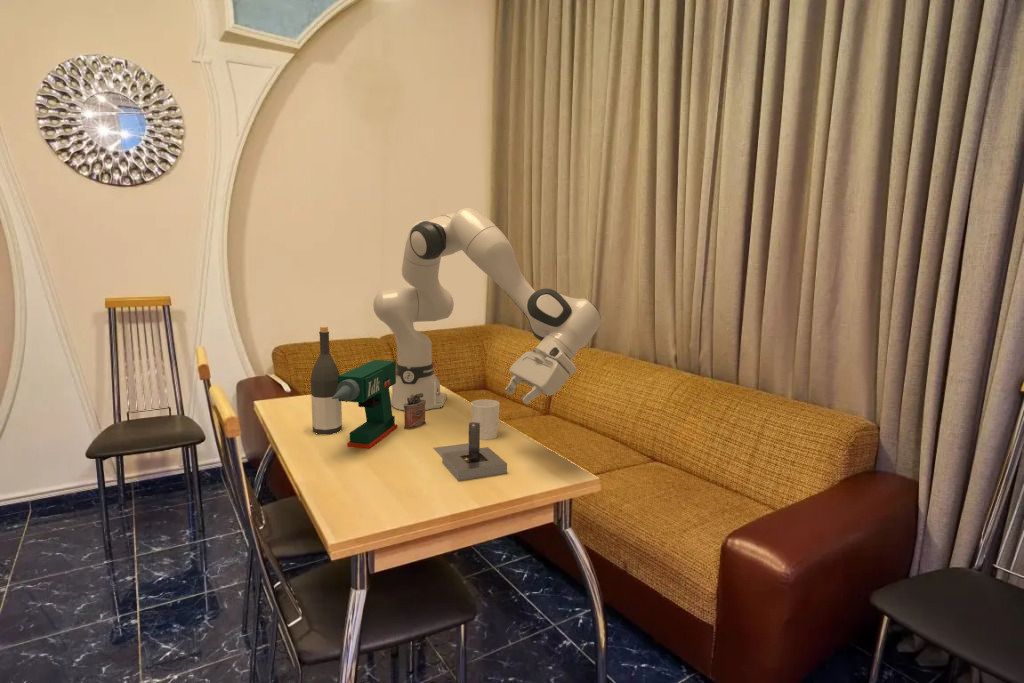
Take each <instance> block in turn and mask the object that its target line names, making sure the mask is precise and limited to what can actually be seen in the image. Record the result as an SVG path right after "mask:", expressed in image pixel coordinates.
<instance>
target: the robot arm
mask: <svg viewBox="0 0 1024 683" xmlns="http://www.w3.org/2000/svg"><path fill="white" fill-rule="evenodd" d="M460 251H462V252H463V253H465V255H466V256H467V257H468V259H469V260H470V261H472V262H473V263H474V264H475V265H476V267H477V268H479V269H480V270H481V271H482V272H483V273H484V274H486V275H487V276H488V277H489V278H490V279H491V280H492V281H493V282H494V283H496V284H497V286H499V287H500V288H501V289H502V290H503V291H504V292H505V294H507V296H508V297H509V298H510V299H511V300H512V301H513V302H514V304H515V305H516V306H517V307H518V308H519V309H520V311H521V312H522V313H523V314H524V315H525V317H526V319H527V320H528V324H529V328H530V331H531V332H532V334H533V337H534V338H536V339H537V340H539V341H540V342H539V343H538V344H537V345H536V346H535V347H534V349H533V350H529V351H526V352H524V353H523V354H522V355H521V356H520V357H518V359H516V360H515V362H514V363H512V365H511V366H510V368H509V370H508V372H509V373H510V374H511V375H512V377H511V378H510V380H509V383H508V385H507V386H506V387H505V389H504V392H506V393H507V394H509V395H511V396H512V395H513V394H514V393H516V391H517V390H516V388H517V386H518V385H520V384H521V383H523V384H526V385H528V386H529V387H531V390H529V392H528V393H524V394H523V395H522V396H521V398H520V400H521V402H523V404H525V405H530V403H531V402H532V401H533V400H535V399H537V398H538V397H540V396H541V395H542V394H545V395H547V396H549V397H550V396H552V395H555V394H556V393H557V392H558V391H560V389H561V388H562V387H563V386H564V384H566V383H567V381H568V380H569V378H570V376H573V375H574V374H575V373H576V372H577V371H578V370H577V366H576V365H575V363H574V362H573V360H574V359H575V357H576V355H577V353H578V351H579V350H580V349H582V348H583V347H584V346H586V345H587V344H588V343H589V341H590V340H591V339H592V338H593V337H594V335H595V334H596V332H597V331H598V330H599V327H600V326H601V323H602V320H601V319H602V318H601V314H600V312H599V310H598V308H597V307H596V306H595V305H594V304H593V302H591V301H590V300H588V299H587V298H575V297H571V296H567V295H564V294H562V293H560V292H558V291H557V290H554V289H553V288H547V287H546V288H540V289H538V290H535V289H534V288H533V287H532V286H531V284H530V283H529V282H528V281H527V279H526V278H525V277H524V275H523V273H522V271H521V268H520V267H519V263H518V260H517V257H516V254H515V250H514V248H513V246H512V244H511V243H510V242H509V239H508V238H507V236H505V234H504V233H503V231H501V229H499V227H498V226H497V225H496V224H494V222H492V220H490V219H489V218H488V217H486V215H484V214H482V213H481V212H480V211H478V210H476V209H475V208H473V207H463V208H462V209H459V210H458V211H456V212H450V213H445V214H441V215H439V216H436V217H434V218H431V219H428V220H425V219H424V220H418V221H416V222H414V223H413V224H412V226H411V228H410V230H409V232H408V236H407V239H406V241H405V246H404V253H403V256H402V257H403V259H402V263H401V264H402V267H401V275H402V278H403V279H404V281H405V282H406V283H407V284H408V285H409V286H412V287H392V288H388V289H383V290H380V291H378V293H377V294H376V295H375V297H374V300H373V311H374V314H375V315H376V317H377V318H378V319H379V320H380V321H381V322H383V323H384V324H385V325H386V326H387V327H388V328H389V329H390V331H391V332H392V333H393V336H394V338H395V343H396V351H397V352H396V353H397V363H396V384H394V385H392V386H391V387H392V388H391V398H390V400H391V407H393V408H394V409H397V410H400V411H405V410H404V404H406V403H408V401H407V397H409V396H410V395H411V394H415V395H416V394H417V393H423V397H422V398H420V400H426V404H425V411H427V410H431V409H441V408H443V407H444V405H445V402H446V400H445V398H446V399H447V397H448V396H447V395H448V394H446V393H444V392H441V381H440V380H439V379H438V377H436V375H435V366H436V362H435V361H433V360H432V358H433V356H432V355H433V354H432V352H433V351H432V350H433V348H432V347H433V346H432V341H431V339H430V337H429V336H427V335H426V334H424V333H422V332H420V331H418V330H416V329H415V326H414V323H415V322H416V323H417V322H418V323H419V322H420V323H421V322H436V321H440V320H445V319H449V317H450V316H451V314H452V313H453V310H454V305H455V304H454V303H455V302H454V298H453V295H452V294H451V293H450V291H449V290H448V289H445V288H444V287H443V286H442V285H441V283H440V281H439V270H440V264H441V258H442V257H446V256H450V255H453V254H455V253H458V252H460ZM446 396H447V397H446ZM444 401H445V402H444ZM443 404H444V405H443ZM442 406H443V407H442ZM440 407H441V408H440Z"/></svg>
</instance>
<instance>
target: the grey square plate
mask: <svg viewBox="0 0 1024 683" xmlns="http://www.w3.org/2000/svg"><path fill="white" fill-rule="evenodd" d="M433 450H434V451H435V452H436V453H437V454H438V456H440V458H442V453H448V452H455V451H463V450H469V442H468V443H461V444H459V443H458V444H451V445H445V446H437V447H433Z"/></svg>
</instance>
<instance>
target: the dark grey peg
mask: <svg viewBox="0 0 1024 683" xmlns="http://www.w3.org/2000/svg"><path fill="white" fill-rule="evenodd" d="M480 441H481V440H480V423H477V422H472V421H471V422H469V423H468V443H469V462H468V463H475V462H479V457H480V448H481V447H480V446H481V445H480V444H481V442H480ZM468 463H467V464H468Z"/></svg>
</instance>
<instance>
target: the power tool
mask: <svg viewBox="0 0 1024 683" xmlns="http://www.w3.org/2000/svg"><path fill="white" fill-rule="evenodd" d="M396 364H397V363H396V361H395V360H384V359H383V360H380V359H373V360H371V361H369V362H367V363H364V364H362V365H360V366H357V367H356V368H353V369H350V370H348V371H347V372H344V373H341V374H340V375H339V376H338V385H337V389H336V392H337V393H336V394H335V395H334V396H333V397H332V399H338V398H339V401H341V402H345V403H357V405H358V407H359V408H364V412H365V419H366V421H365V422H364V423H361V424H360V425H359V426H358V427H356V428H354V429H353V430H352V431H350V432H349V441H348V442H347V443H346V447H347V448H353V447H354V448H357V449H367V450H371V449H372V448H374V447H375V446H376V445H377V444H379V443H380V442H381V441H382V440H384V439H385V438H386V437H387V436H389V435H390V434H392V433H393V432H394V431H395V430H396V429H398V424H396V423H395V420H396V418H395V415H393V410H392V409H393V408H392V405H391V393H390V387H392V385H394V384H396V377H397V374H396Z"/></svg>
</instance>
